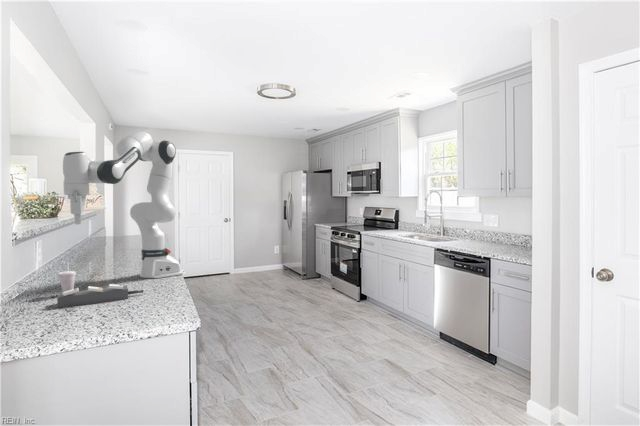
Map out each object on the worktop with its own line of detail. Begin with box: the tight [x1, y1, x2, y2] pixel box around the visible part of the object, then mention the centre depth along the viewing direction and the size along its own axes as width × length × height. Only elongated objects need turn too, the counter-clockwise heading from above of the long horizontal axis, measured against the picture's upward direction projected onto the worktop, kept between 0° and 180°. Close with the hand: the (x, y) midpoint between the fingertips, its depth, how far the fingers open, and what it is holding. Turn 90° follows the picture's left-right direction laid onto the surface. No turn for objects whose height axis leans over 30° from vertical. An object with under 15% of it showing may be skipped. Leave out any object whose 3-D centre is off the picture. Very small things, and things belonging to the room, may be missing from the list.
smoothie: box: [57, 262, 77, 293], centre depth 159 cm, size 6×6×14 cm
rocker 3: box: [108, 283, 124, 289], centre depth 152 cm, size 5×3×1 cm, turn 122°
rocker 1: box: [63, 287, 80, 296], centre depth 144 cm, size 5×3×1 cm, turn 121°
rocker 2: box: [87, 285, 103, 292], centre depth 148 cm, size 5×3×1 cm, turn 122°
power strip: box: [56, 285, 144, 309], centre depth 151 cm, size 30×7×4 cm, turn 121°
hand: (78, 224), depth 152 cm, fingers closed
